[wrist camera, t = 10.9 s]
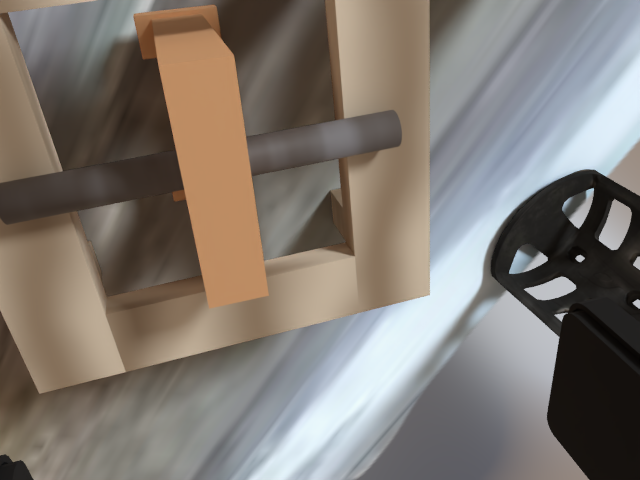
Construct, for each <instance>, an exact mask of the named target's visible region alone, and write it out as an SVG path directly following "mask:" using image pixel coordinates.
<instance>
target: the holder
mask: <svg viewBox="0 0 640 480" xmlns="http://www.w3.org/2000/svg"><path fill="white" fill-rule="evenodd" d="M591 188H594V197H593V201H592V205H591V208H590V210H589V213H588V215H587V217H586V219H585V221H584V223H583V224H582V226H581V227H580V228H579V229H578V228H576V227H575V226H574V225H573V224H572V223H571V222H570V220H569V219H568V218H567V217H566V215H565V214H564V213H563V212H562V207H563V204H564V202H565V201H566V200H567V199H568V198H570V197H572V196H574V195H576V194H578V193H581V192H583V191H586V190H588V189H591ZM614 199H616V200H617V201H619V202H621V203H623V204H624V205H626V206H628V207H629V208H630V209H631V212H632V217H631V222H630V226H629V229H628V232H627V234H626V236H625V238H624V240H623V242H622V244H621V245H620V247H619V248H618V250H611V249H609V248H608V247H606V246H605V245H604V244H602V243H601V242H600V241H599V235H600V233H601V231H602V229H603V227H604V225H605V223H606V220H607V217H608V214H609V211H610V208H611V205H612V201H613V200H614ZM526 243H528V244H532V245H533V246H534V247H535V248H537V249H538V250H539V251H540V252H542V253H543V254H544V255H546V256H547V257H548V261H547V262H545V263H544V264H542V265H540V266H538V267H536V268H534V269H532V270H530V271H527V272H523V273H519V274H509V270H510V267H511V265H512V262H513V259H514V257H515V254H516V252H517V250H518V249H519V248H520V247H521V246H522V245H524V244H526ZM578 255H582V256H583V257H585V259H584V260H583V261H582V262H578V261H577V260H576V259H575V258H576V256H578ZM638 256H640V196H639V195H637V194H635V193H633V192H631V191H630V190H628V189H626V188H625V187H623V186H621V185H619V184H617V183H615V182H614V181H612V180H611V179H609V178H607V177H606V176H604V175H602V174H600V173H599V172H597V171H596V170H580V171H577V172H574V173H572V174H570V175H568V176H565V177H563V178H561V179H559V180H557V181H555V182H553V183H552V184H550V185H549V186H547V187H546V188H545V189H543V190H542V191H541V192H539V193H538V194H537V195H535V196H534V197H533V198H532V199H531V200H530V201H529V202H528V203H527V204H526V205H525V206H524V207H522V208H521V209H520V210H519V211H518V213H517V214H516V215H515V216H514V218H513V219H512V220H511V222H510V223H509V225H508V226H507V227H506V229H505V231H504V232H503V234H502V236H501V237H500V239H499V241H498V243H497V246H496V248H495V251H494V254H493V257H492V262H491V273H492V276H493V277H494V278H495V279H496V280H497V281H498V282H499V283H500V284H501V285H502V286H503V287H504V288H505V289H506V290H508V291H509V292H510V293H511V294H512V295H513V296H514V297H515V298H517V299H518V300H519V301H520V302H521V303H522V304H523V305H525V306H526V307H527V308H528V309H529V310H530V311H531V312H532V313H533V314H535V315H536V316H537V317H538V318H539V319H540V320H541V321H542V322H543V323H545V324H546V325H547V326H548V327H549V328H550V329H551V330H552V331H553V332H554V333H556V334H557V335H558V336H559V337H560V331H561V325H562V322H561V321H560V320H559V319H558V318H557V317H555V316H554V315H555V314H561V313H568V311H569V308H570V306H571V305H572V304H574V303H578V302H582V301H585V300H589V299H593V298H597V297H600V296H604V297H607V298H609V299H611V300H612V301H614V302H615V303H616V304H617V305H618V306H620V307H621V308H622V309H623V310H625V311H626V312H627V313H628V314H630V315H631V316H632V317H633V318H634V319H636V320H637V321H638V322H639V323H640V309H638V308H637V307H636V306H635V305H633V303H632V302H634V301H635V300H637V299H639V300H640V270H639V269H637V268H636V267H635V266H633V263H634V262H635V260H636V258H637V257H638ZM561 276H563V277H566V278H568V279H569V280H570V281H572V282H573V283H574V284H575V285H576V288H577V289H576V290H574V291H573V292H571V293H569V294H567V295H564V296H561V297H559V298H555V299H551V300H537V299H536V298H534V297H533V296H531V295H530V294H529V293H527V292H526V291H525V290H524V289H525V288H529V287H534V286H538V285H541V284H544V283H546V282H549V281H551V280H553V279H555V278H558V277H561Z"/></svg>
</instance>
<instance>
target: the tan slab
mask: <svg viewBox="0 0 640 480" xmlns="http://www.w3.org/2000/svg"><path fill="white" fill-rule="evenodd" d="M134 21H135V26H136V30H137V35H138V39H139V44H140V49H141V53H142V58H143V59H150V58H157V59H158V66H159V70H160V75H161V80H162V85H163V90H164V94H165V99H166V104H167V109H168V114H169V118H170V123H171V128H172V133H173V138H174V142H175V147H176V152H177V157H178V162H179V166H180V171H181V176H182V181H183V186H184V190H179V191H174V192H172V194H173V198H174V202H175V201H180V200H187V205H188V210H189V214H190V219H191V224H192V229H193V233H194V238H195V243H196V248H197V253H198V257H199V262H200V267H201V272H202V277H203V281H204V286H205V291H206V296H207V301H208V305H209V309H210V308H215V307H219V306H224V305H228V304H233V303H238V302H242V301H247V300H251V299H256V298H260V297H265V296H269V293H268V286H267V279H266V272H265V265H264V258H263V251H262V245H261V238H260V231H259V224H258V217H257V210H256V203H255V196H254V189H253V182H252V176H251V169H250V162H249V155H248V148H247V141H246V134H245V127H244V120H243V113H242V107H241V100H240V93H239V86H238V79H237V72H236V65H235V58H234V55H233V53H232V52H231V51H230V49H229V48H228V47H227V46H226V44H225V43H224V42H223V41H222V39H221V32H220V26H219V19H218V13H217V7H216V6H215V5H206V6H198V7H189V8H180V9H172V10H163V11H154V12H145V13H137V14H134Z"/></svg>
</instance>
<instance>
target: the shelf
mask: <svg viewBox="0 0 640 480" xmlns="http://www.w3.org/2000/svg"><path fill="white" fill-rule="evenodd" d="M88 1H96V0H0V311H1V313H2V315H3V317H4V319H5V322H6V324H7V326H8V328H9V330H10V332H11V334H12V336H13V339H14V341H15V343H16V345H17V347H18V349H19V351H20V353H21V356H22V358H23V360H24V362H25V364H26V366H27V368H28V370H29V373H30V375H31V377H32V379H33V381H34V383H35V385H36V387H37V390H38V392H39V394H41V393H45V392H49V391H53V390H57V389H61V388H65V387H69V386H73V385H77V384H81V383H84V382H88V381H92V380H96V379H100V378H104V377H108V376H112V375H116V374H120V373H124V372H128V371H132V370H136V369H140V368H144V367H148V366H152V365H155V364H159V363H163V362H167V361H171V360H175V359H179V358H183V357H187V356H191V355H195V354H199V353H203V352H207V351H211V350H215V349H219V348H222V347H226V346H230V345H234V344H238V343H242V342H246V341H250V340H254V339H258V338H262V337H266V336H270V335H274V334H278V333H282V332H286V331H290V330H293V329H297V328H301V327H305V326H309V325H313V324H317V323H321V322H325V321H329V320H333V319H337V318H341V317H345V316H349V315H353V314H357V313H360V312H364V311H368V310H372V309H376V308H380V307H384V306H388V305H392V304H396V303H400V302H404V301H408V300H412V299H416V298H420V297H424V296H428V295H430V0H325V8H326V20H327V32H328V43H329V55H330V66H331V78H332V90H333V101H334V113H335V120H334V121H329V122H324V123H318V124H313V125H308V126H302V127H297V128H292V129H286V130H281V131H276V132H270V133H265V134H259V135H254V136H249V137H246V141H247V148H248V155H249V162H250V169H251V176H254V175H259V174H264V173H269V172H274V171H279V170H284V169H289V168H294V167H299V166H304V165H309V164H314V163H319V162H324V161H329V160H334V159H339V171H340V183H341V188H340V189H335V190H330V192H331V203H332V213H333V223H334V224H335V226H336V227H337V229H338V230H339V232H340V233H341V235H342V236H343V238H344V239H345V241H346V242H345V243H340V244H336V245H332V246H327V247H323V248H318V249H314V250H310V251H305V252H301V253H297V254H292V255H288V256H283V257H279V258H275V259H270V260H266V261H264V265H265V272H266V279H267V286H268V293H269V296H265V297H260V298H256V299H251V300H247V301H242V302H238V303H233V304H228V305H224V306H219V307H215V308H210V309H209V305H208V301H207V296H206V291H205V286H204V281H203V277H202V275H200V276H196V277H192V278H187V279H183V280H178V281H174V282H170V283H165V284H161V285H157V286H152V287H148V288H143V289H139V290H135V291H130V292H126V293H122V294H117V295H113V296H108V297H107V296H106V293H105V290H104V287H103V284H102V282H101V279H102V272H101V269H100V266H99V263H98V260H97V258H96V255H95V252H94V249H93V246H92V243H91V241H87V239H86V236H85V233H84V230H83V227H82V224H81V221H80V218H79V216H78V213H77V211H79V210H84V209H89V208H94V207H99V206H104V205H109V204H114V203H119V202H124V201H129V200H134V199H139V198H144V197H149V196H154V195H159V194H164V193H169V192H174V191H179V190H184V186H183V181H182V176H181V171H180V166H179V162H178V157H177V152H176V150H174V151H168V152H163V153H158V154H152V155H147V156H142V157H136V158H131V159H126V160H120V161H115V162H109V163H104V164H99V165H93V166H88V167H83V168H77V169H72V170H67V171H63V170H62V167H61V164H60V161H59V158H58V155H57V152H56V150H55V147H54V144H53V141H52V138H51V135H50V132H49V130H48V127H47V124H46V121H45V118H44V115H43V112H42V109H41V107H40V104H39V101H38V98H37V95H36V92H35V89H34V86H33V84H32V81H31V78H30V75H29V72H28V69H27V66H26V64H25V61H24V58H23V55H22V52H21V49H20V46H19V43H18V41H17V38H16V35H15V32H14V29H13V26H12V23H11V20H10V18H9V15H8V12H14V11H22V10H29V9H37V8H44V7H51V6H59V5H66V4H73V3H81V2H88Z"/></svg>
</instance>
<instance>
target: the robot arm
mask: <svg viewBox="0 0 640 480" xmlns="http://www.w3.org/2000/svg"><path fill="white" fill-rule="evenodd" d="M547 420H548V425H549V427H550V430H551V432H552V433H553V435H554V436H555V437H556V438H557V440H558V441H559V442H560V444H561V445H562V446H563V447H564V449H565V450H566V451H567V452H568V453H569V455H570V456H571V457H572V459H573V460H574V461H575V462H576V464H577V465H578V466H579V467H580V469H581V470H582V471H583V472H584V473H585V475H586V476H587V477H588V479H589V480H640V323H639V322H638V321H637V320H636V319H634V318H633V317H632V316H631V315H630V314H628V313H627V312H626V311H625V310H623V309H622V308H621V307H620V306H618V305H617V304H616V303H615V302H614V301H612V300H611V299H609V298H607V297H604V296H600V297H597V298H593V299H589V300H585V301H582V302H578V303H574V304H572V305H571V306H570V308H569V311H568V314H565V315H564V317H563V320H562V325H561V331H560V338H559V344H558V351H557V357H556V363H555V370H554V376H553V381H552V388H551V394H550V400H549V406H548V412H547ZM0 480H33V478H32V476H31V474H30V472H29V470H28V469H27V467H26V465H25V463H24V462H23V461H21V460H20V461H16V462H12V460H11V459H10V458H9V456H7V455H1V456H0Z"/></svg>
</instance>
